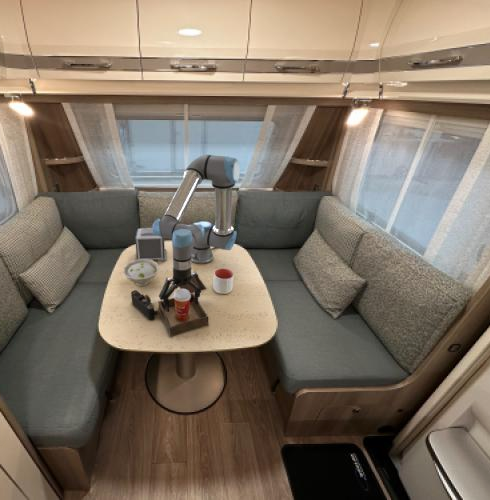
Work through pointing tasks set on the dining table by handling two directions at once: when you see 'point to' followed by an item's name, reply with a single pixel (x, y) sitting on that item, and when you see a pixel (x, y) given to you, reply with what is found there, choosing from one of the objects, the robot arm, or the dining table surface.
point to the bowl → (141, 271)
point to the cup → (223, 280)
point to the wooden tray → (186, 325)
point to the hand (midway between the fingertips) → (182, 306)
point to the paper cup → (182, 304)
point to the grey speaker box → (149, 245)
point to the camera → (143, 305)
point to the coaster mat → (191, 286)
